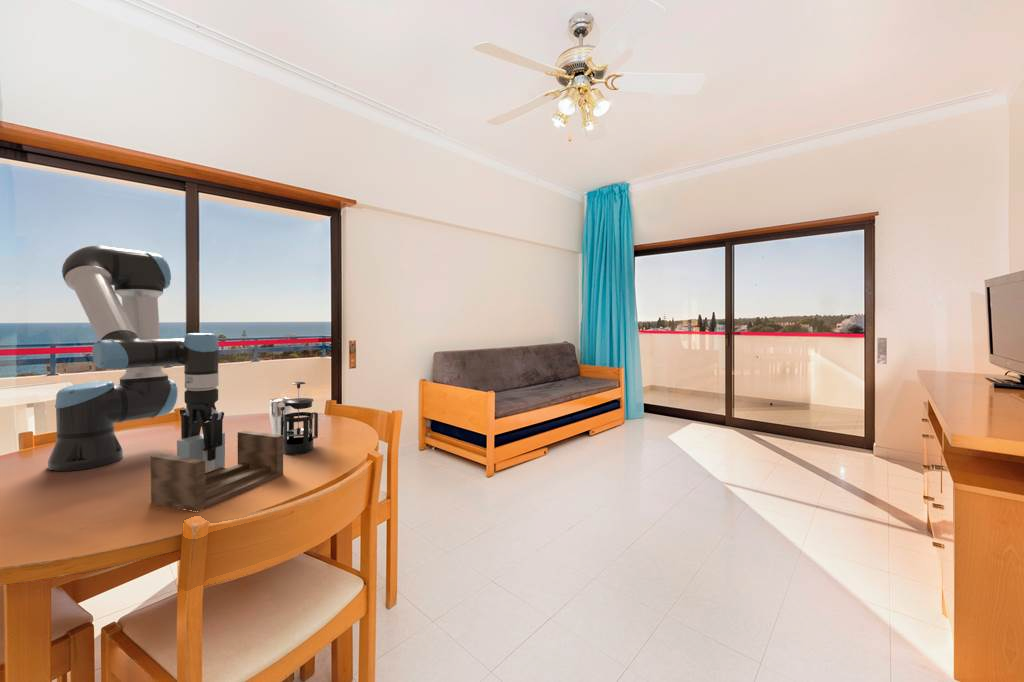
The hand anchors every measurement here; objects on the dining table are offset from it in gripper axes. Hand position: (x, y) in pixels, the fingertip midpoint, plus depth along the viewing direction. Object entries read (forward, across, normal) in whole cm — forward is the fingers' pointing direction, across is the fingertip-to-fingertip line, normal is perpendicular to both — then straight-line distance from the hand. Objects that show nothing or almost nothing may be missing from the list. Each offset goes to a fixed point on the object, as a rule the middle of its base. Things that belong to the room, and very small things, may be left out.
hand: (201, 470), depth 114 cm
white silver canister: (+1, -4, +31) cm, 31 cm away
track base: (0, +15, -6) cm, 16 cm away
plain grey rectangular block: (0, 0, 0) cm, 0 cm away
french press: (+1, +10, +25) cm, 27 cm away
